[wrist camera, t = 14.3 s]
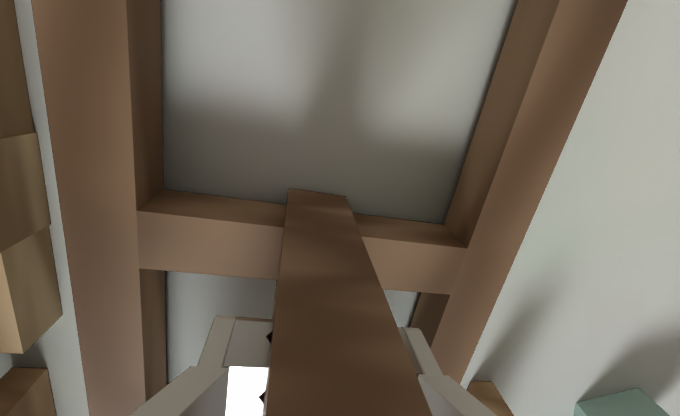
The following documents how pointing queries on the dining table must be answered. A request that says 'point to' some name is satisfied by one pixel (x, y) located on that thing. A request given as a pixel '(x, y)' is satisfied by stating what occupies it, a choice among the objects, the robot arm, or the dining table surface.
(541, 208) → the dining table surface
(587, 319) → the dining table surface
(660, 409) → the teal cube
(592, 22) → the brown rectangular open frame
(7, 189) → the tan blocky wooden part
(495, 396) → the frame
